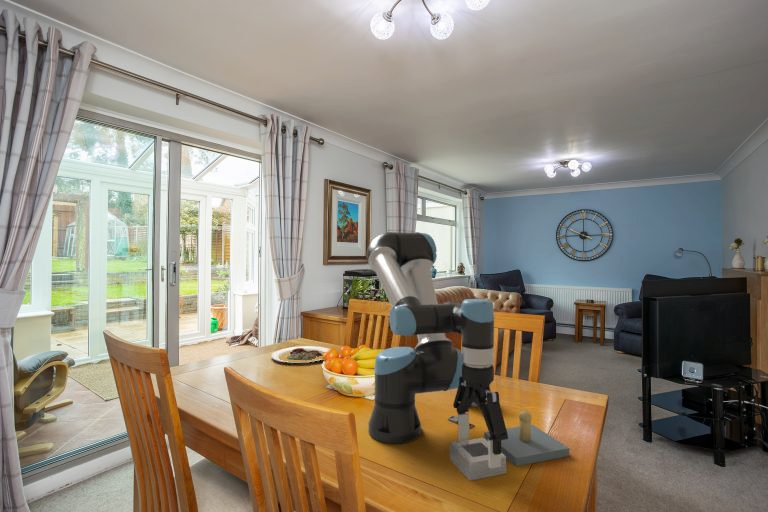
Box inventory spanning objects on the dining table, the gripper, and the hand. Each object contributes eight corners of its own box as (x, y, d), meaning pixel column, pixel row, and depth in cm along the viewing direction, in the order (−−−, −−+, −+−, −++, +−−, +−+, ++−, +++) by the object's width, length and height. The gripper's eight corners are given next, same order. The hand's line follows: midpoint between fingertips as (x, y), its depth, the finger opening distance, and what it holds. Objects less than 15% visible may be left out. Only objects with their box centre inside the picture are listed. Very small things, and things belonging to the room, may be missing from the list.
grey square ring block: (469, 480, 86) (469, 463, 86) (449, 458, 95) (449, 443, 95) (506, 473, 89) (506, 456, 89) (483, 452, 98) (483, 437, 98)
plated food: (302, 370, 168) (302, 362, 168) (258, 359, 184) (258, 352, 184) (345, 355, 193) (345, 348, 193) (303, 346, 209) (303, 340, 209)
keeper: (516, 466, 92) (516, 426, 92) (484, 439, 106) (484, 404, 105) (569, 455, 97) (569, 418, 97) (532, 431, 110) (532, 398, 110)
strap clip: (446, 421, 118) (446, 407, 118) (452, 418, 120) (452, 404, 120) (469, 430, 112) (469, 416, 111) (475, 427, 114) (475, 413, 114)
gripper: (524, 377, 81) (525, 477, 81) (465, 350, 105) (465, 428, 105) (494, 380, 79) (494, 483, 79) (440, 353, 103) (440, 432, 103)
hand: (478, 452), depth 92 cm, fingers open, 13 cm apart
